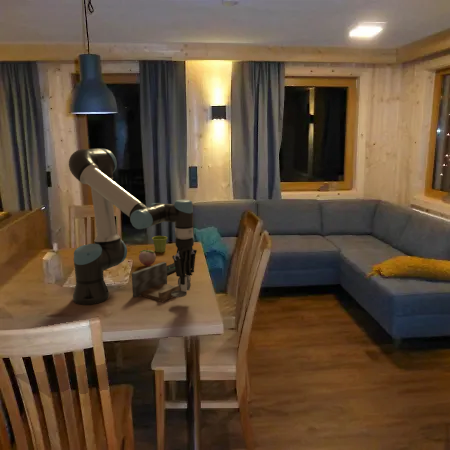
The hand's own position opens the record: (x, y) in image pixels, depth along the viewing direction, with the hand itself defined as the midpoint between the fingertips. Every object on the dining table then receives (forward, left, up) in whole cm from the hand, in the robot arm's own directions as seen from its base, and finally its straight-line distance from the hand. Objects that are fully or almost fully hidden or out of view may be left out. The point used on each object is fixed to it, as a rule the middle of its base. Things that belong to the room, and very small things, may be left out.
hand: (185, 290), depth 178 cm
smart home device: (+29, +35, -6) cm, 46 cm away
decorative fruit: (+26, +50, -5) cm, 57 cm away
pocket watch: (-2, +1, -1) cm, 3 cm away
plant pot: (+51, +65, -6) cm, 83 cm away
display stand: (+1, +16, -5) cm, 17 cm away
